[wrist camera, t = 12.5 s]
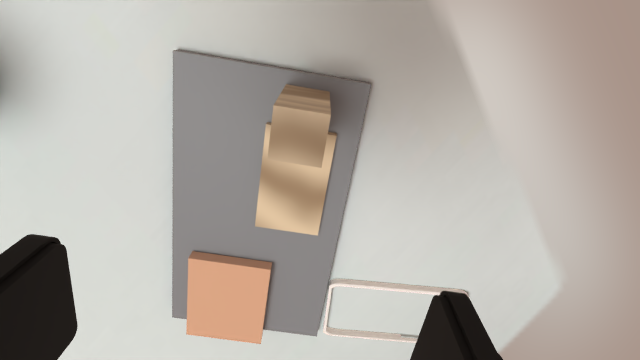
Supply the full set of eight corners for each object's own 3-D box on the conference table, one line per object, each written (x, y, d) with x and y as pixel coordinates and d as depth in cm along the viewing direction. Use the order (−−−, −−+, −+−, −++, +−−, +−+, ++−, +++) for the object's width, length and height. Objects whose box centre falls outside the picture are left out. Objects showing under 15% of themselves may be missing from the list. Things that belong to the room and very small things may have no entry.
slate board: (177, 49, 30) (173, 50, 29) (369, 82, 31) (371, 84, 30) (175, 310, 41) (172, 317, 40) (316, 329, 42) (316, 336, 41)
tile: (188, 258, 35) (186, 334, 39) (270, 269, 36) (260, 344, 40) (192, 250, 37) (190, 324, 41) (272, 261, 37) (262, 334, 41)
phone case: (466, 287, 40) (329, 274, 39) (471, 295, 39) (329, 283, 38) (450, 337, 43) (322, 326, 42) (454, 346, 42) (322, 335, 41)
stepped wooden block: (271, 81, 30) (254, 102, 22) (343, 94, 30) (349, 118, 23) (256, 222, 35) (238, 276, 28) (317, 231, 36) (315, 286, 28)
